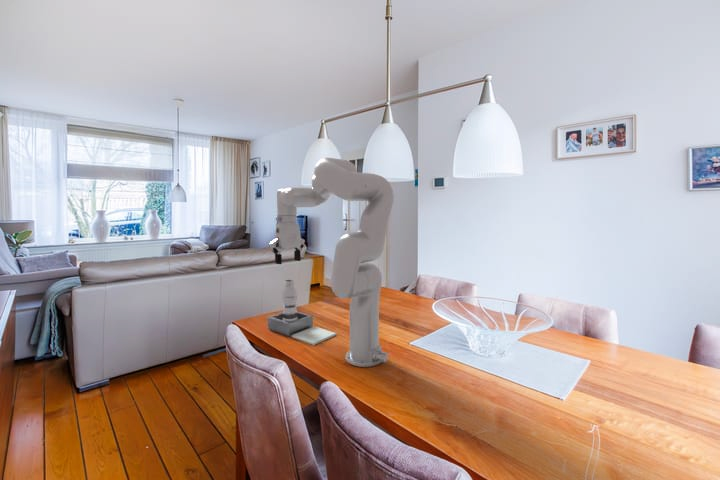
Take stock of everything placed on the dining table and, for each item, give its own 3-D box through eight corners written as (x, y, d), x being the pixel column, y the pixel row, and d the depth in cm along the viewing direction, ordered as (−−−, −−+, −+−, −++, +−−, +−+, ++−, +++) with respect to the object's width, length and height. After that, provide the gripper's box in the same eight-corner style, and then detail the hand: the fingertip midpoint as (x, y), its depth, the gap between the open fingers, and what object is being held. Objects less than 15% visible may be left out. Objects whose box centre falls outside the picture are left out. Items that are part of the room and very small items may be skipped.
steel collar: (312, 327, 138) (312, 315, 138) (289, 336, 129) (288, 324, 128) (291, 320, 146) (291, 309, 146) (268, 328, 137) (267, 317, 136)
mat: (336, 335, 130) (336, 333, 130) (313, 345, 120) (313, 343, 120) (314, 328, 137) (314, 326, 137) (291, 337, 128) (291, 335, 128)
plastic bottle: (290, 332, 133) (288, 283, 131) (279, 328, 137) (277, 281, 135) (302, 327, 138) (300, 280, 136) (291, 324, 142) (289, 278, 140)
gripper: (275, 221, 124) (276, 266, 126) (309, 219, 137) (310, 260, 139) (263, 220, 129) (264, 264, 130) (297, 219, 142) (298, 258, 144)
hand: (288, 262), depth 135 cm, fingers open, 9 cm apart
